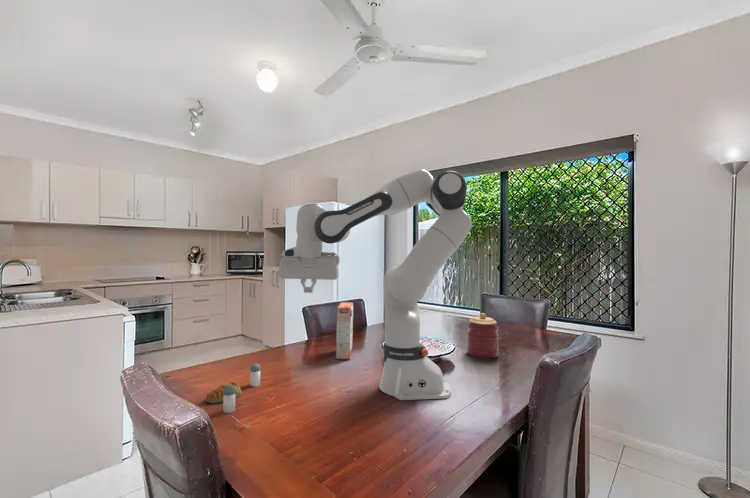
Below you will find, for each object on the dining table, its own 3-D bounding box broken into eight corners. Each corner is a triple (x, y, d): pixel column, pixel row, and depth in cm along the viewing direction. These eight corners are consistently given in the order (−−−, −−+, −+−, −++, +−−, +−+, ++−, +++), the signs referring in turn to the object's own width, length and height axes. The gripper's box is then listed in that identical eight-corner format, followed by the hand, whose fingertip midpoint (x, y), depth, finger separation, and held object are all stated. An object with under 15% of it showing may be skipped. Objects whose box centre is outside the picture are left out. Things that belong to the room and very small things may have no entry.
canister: (464, 349, 159) (465, 309, 159) (494, 350, 158) (495, 310, 158) (468, 358, 147) (469, 315, 146) (501, 360, 145) (502, 316, 145)
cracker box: (350, 360, 141) (351, 307, 141) (335, 359, 141) (336, 307, 141) (353, 349, 155) (353, 301, 155) (339, 349, 155) (340, 301, 155)
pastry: (213, 407, 99) (213, 393, 99) (200, 401, 103) (200, 388, 103) (243, 396, 107) (243, 383, 107) (230, 391, 110) (230, 378, 110)
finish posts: (262, 383, 116) (262, 362, 116) (232, 413, 95) (232, 388, 95) (252, 382, 117) (252, 362, 117) (220, 412, 95) (220, 387, 95)
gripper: (340, 252, 124) (340, 292, 124) (283, 251, 125) (282, 290, 126) (337, 252, 118) (337, 294, 118) (277, 251, 119) (276, 292, 119)
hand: (308, 292), depth 122 cm, fingers closed
